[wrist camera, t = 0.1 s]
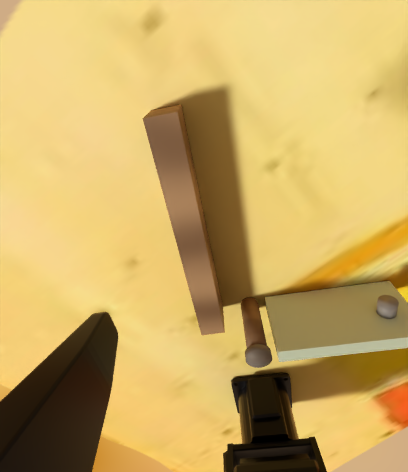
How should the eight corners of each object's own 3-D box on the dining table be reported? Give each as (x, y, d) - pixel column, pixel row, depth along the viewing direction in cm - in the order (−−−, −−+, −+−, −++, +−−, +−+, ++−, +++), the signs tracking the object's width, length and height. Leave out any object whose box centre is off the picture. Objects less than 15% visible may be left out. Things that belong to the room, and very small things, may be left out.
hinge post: (260, 310, 29) (273, 366, 23) (240, 312, 29) (247, 368, 24) (259, 294, 28) (271, 349, 22) (237, 297, 28) (244, 352, 23)
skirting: (222, 307, 28) (224, 332, 26) (202, 309, 29) (201, 335, 26) (181, 104, 19) (177, 111, 17) (151, 110, 20) (142, 118, 17)
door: (265, 306, 28) (279, 362, 23) (263, 287, 27) (277, 341, 22) (387, 290, 27) (430, 345, 22) (391, 269, 26) (436, 322, 21)
